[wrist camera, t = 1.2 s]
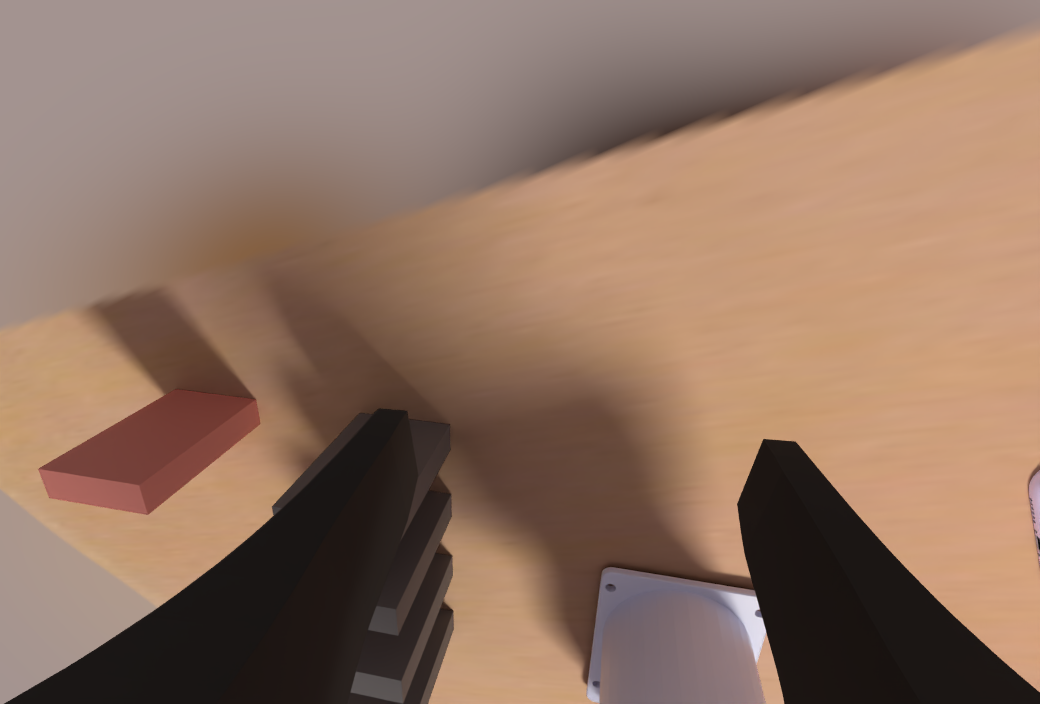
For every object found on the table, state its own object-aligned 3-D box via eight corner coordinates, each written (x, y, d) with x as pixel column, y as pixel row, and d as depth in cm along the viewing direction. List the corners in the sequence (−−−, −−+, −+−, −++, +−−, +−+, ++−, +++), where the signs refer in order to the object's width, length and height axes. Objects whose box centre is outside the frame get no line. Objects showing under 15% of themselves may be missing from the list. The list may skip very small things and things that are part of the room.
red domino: (260, 423, 27) (147, 514, 21) (181, 413, 28) (49, 497, 21) (256, 399, 26) (139, 485, 20) (175, 389, 27) (37, 468, 21)
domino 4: (453, 629, 30) (407, 762, 24) (378, 614, 31) (314, 740, 25) (453, 611, 30) (406, 742, 23) (377, 597, 30) (311, 721, 24)
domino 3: (452, 575, 29) (403, 703, 22) (373, 562, 29) (304, 682, 23) (452, 556, 28) (401, 680, 22) (371, 542, 29) (299, 659, 22)
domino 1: (450, 449, 25) (392, 556, 19) (362, 437, 26) (277, 536, 20) (449, 424, 25) (389, 525, 19) (359, 412, 26) (272, 506, 19)
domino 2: (451, 516, 27) (397, 635, 21) (368, 503, 28) (291, 614, 21) (451, 494, 26) (395, 609, 20) (366, 481, 27) (286, 589, 21)
